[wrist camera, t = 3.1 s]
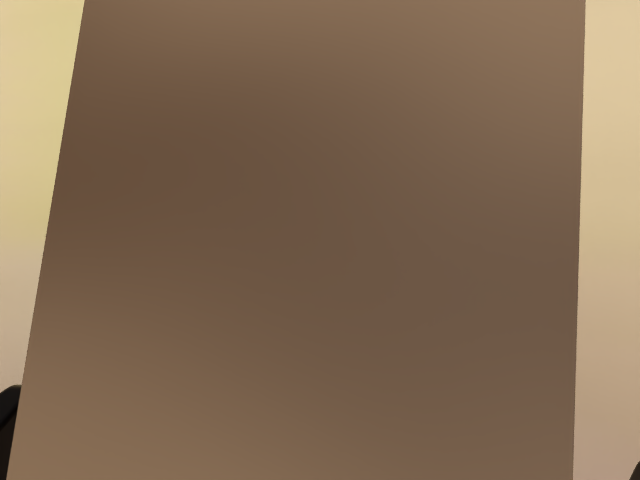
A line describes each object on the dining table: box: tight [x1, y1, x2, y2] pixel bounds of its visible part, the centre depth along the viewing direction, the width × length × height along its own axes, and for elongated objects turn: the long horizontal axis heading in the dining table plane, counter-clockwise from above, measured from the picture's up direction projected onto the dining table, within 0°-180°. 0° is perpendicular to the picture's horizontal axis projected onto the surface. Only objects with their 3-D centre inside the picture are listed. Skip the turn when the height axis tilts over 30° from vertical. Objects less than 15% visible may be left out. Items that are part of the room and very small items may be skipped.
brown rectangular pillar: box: [6, 0, 586, 480], centre depth 13 cm, size 5×5×14 cm
